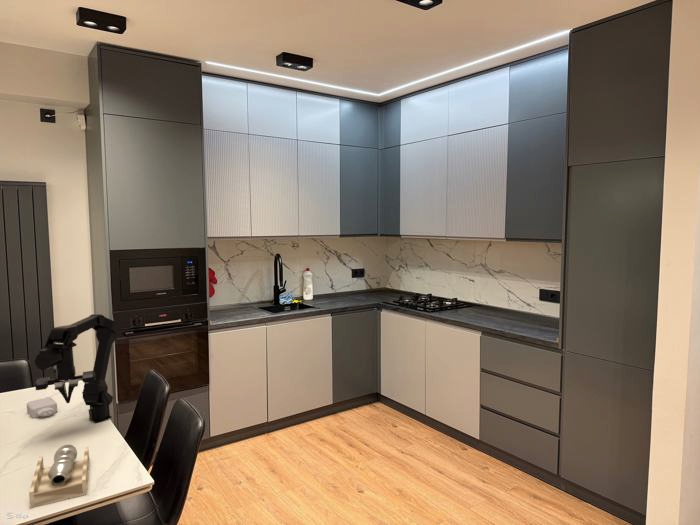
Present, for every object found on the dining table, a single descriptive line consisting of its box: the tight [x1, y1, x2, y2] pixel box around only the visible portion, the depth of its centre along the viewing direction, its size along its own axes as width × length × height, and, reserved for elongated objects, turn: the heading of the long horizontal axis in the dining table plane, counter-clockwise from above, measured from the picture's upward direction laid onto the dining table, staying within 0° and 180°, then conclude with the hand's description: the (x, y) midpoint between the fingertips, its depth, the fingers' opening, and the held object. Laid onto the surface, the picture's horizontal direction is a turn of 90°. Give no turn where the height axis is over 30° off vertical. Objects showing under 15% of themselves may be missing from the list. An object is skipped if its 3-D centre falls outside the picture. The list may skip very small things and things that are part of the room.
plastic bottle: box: [48, 444, 78, 487], centre depth 156 cm, size 6×7×20 cm
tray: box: [28, 446, 90, 509], centre depth 153 cm, size 23×14×4 cm, turn 26°
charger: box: [26, 396, 58, 419], centre depth 206 cm, size 5×9×15 cm
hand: (68, 402), depth 183 cm, fingers closed
